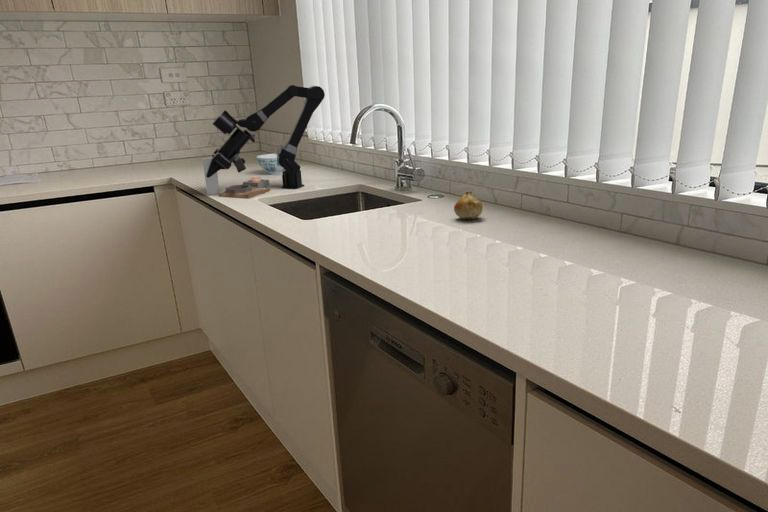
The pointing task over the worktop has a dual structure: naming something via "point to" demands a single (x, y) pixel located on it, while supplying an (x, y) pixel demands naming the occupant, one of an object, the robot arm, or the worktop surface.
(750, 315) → the worktop surface
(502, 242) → the worktop surface
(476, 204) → the onion
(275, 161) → the chinaware
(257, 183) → the button housing
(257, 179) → the button
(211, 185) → the billet
